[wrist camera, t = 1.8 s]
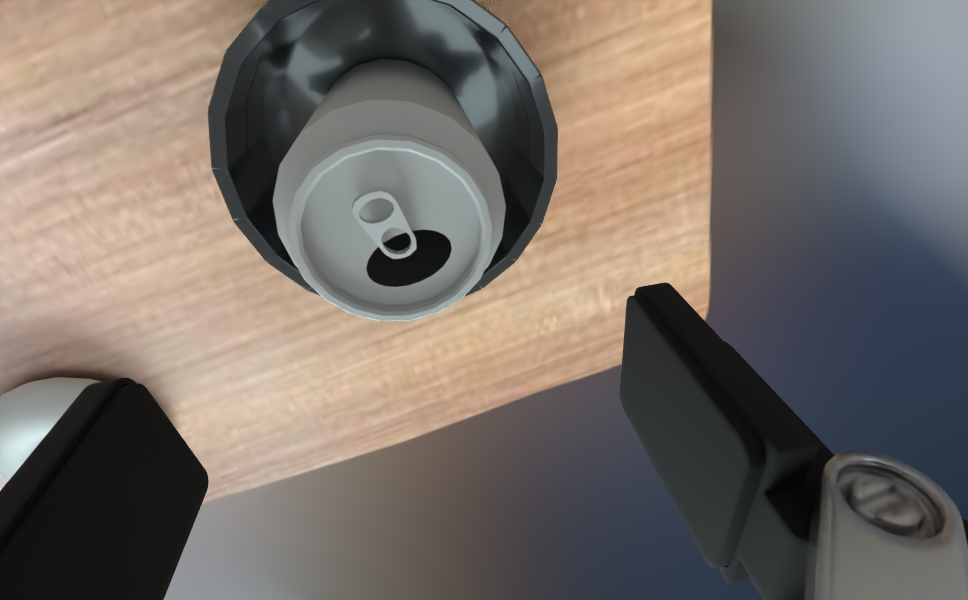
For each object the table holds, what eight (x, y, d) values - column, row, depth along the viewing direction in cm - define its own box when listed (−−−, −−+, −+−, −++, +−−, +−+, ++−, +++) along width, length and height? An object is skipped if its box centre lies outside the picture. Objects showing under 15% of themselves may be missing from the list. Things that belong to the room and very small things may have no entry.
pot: (253, 236, 26) (219, 294, 21) (246, -70, 19) (193, -92, 14) (490, 268, 29) (509, 325, 24) (560, 21, 22) (606, 30, 17)
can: (367, 227, 26) (349, 371, 16) (286, 97, 22) (197, 185, 12) (489, 173, 26) (546, 288, 16) (430, 27, 21) (458, 60, 11)
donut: (-40, 392, 28) (80, 485, 34) (-89, 435, 26) (50, 529, 31) (113, 345, 28) (208, 446, 34) (81, 383, 25) (190, 487, 31)
